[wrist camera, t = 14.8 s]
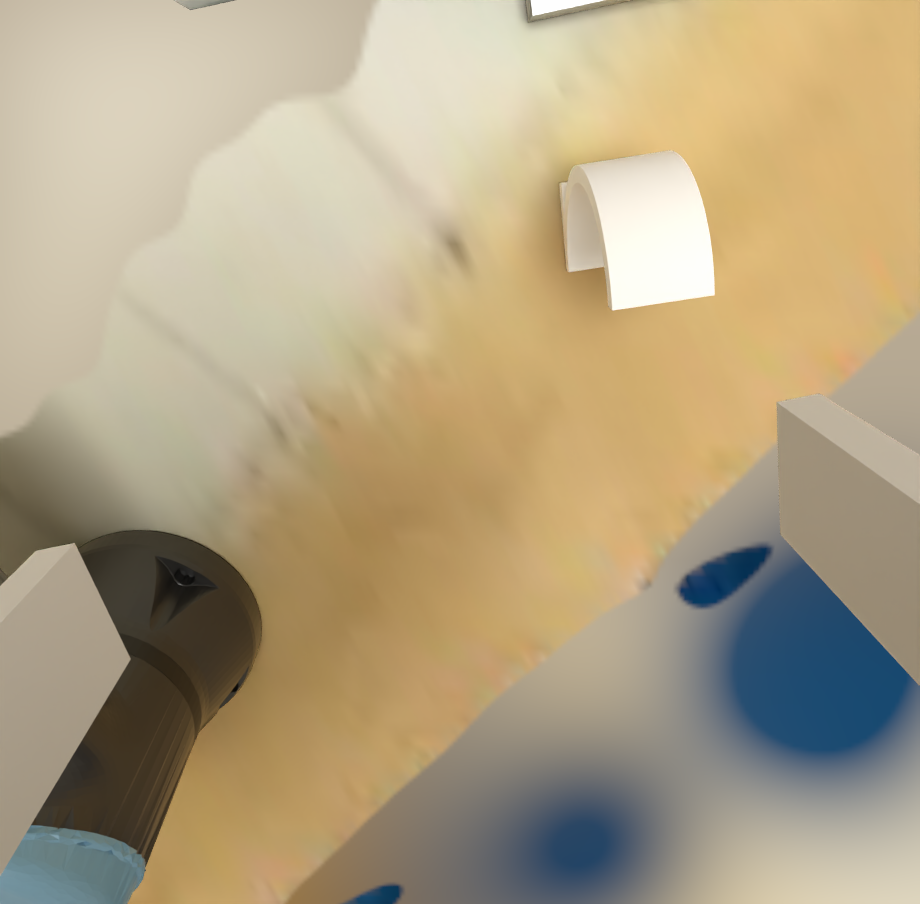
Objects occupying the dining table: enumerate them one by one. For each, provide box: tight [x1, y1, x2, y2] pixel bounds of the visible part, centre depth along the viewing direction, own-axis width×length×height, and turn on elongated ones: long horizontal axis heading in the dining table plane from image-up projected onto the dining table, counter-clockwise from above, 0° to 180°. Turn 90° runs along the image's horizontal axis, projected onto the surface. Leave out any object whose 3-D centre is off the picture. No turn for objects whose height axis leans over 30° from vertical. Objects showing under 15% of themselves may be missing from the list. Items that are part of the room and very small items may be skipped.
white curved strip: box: [559, 150, 715, 311], centre depth 36 cm, size 5×6×12 cm
